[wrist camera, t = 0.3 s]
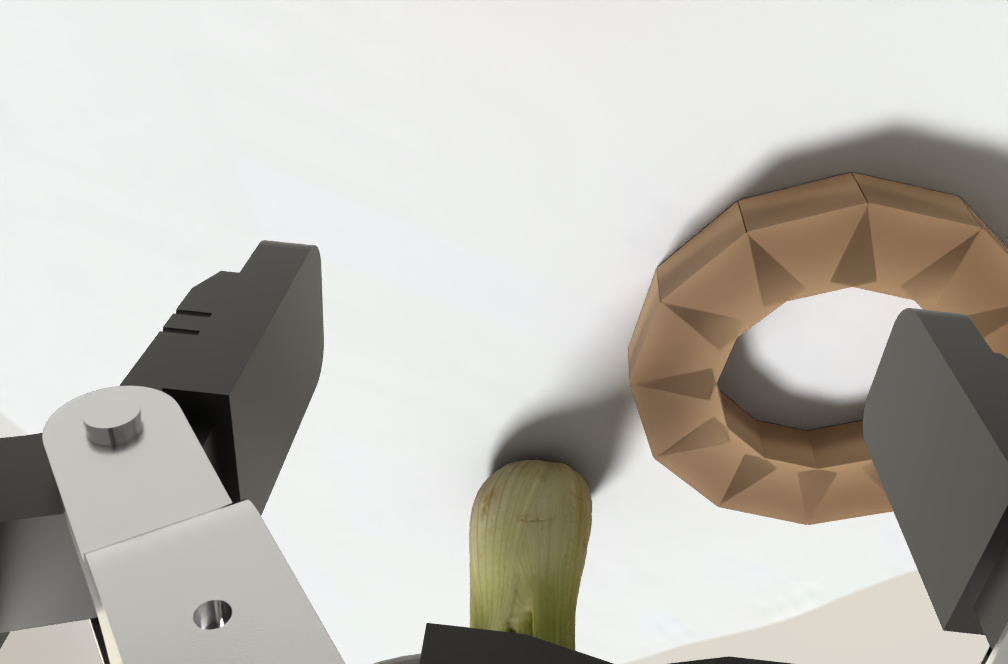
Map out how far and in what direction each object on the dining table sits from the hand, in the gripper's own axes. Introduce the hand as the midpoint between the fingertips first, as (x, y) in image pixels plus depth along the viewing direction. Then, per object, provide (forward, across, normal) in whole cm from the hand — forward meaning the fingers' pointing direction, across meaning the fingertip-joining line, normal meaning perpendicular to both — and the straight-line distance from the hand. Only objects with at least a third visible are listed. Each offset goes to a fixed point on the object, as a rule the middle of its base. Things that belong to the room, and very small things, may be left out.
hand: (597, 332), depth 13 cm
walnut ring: (+18, -10, +11) cm, 24 cm away
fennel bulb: (+19, 0, +20) cm, 28 cm away
